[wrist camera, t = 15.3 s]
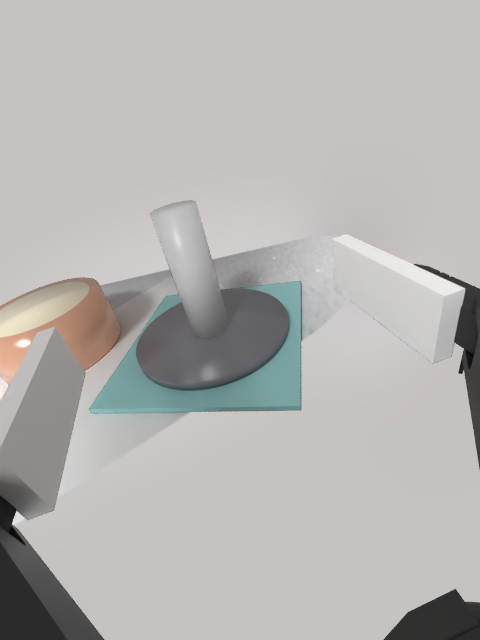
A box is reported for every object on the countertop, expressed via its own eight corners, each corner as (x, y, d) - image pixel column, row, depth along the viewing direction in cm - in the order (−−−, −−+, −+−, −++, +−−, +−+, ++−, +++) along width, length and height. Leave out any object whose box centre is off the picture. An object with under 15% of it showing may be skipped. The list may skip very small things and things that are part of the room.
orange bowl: (-22, 392, 28) (-63, 349, 25) (55, 321, 37) (31, 284, 34) (81, 388, 25) (48, 339, 23) (138, 313, 34) (119, 271, 32)
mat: (91, 413, 23) (88, 409, 23) (167, 299, 36) (165, 296, 35) (301, 410, 19) (300, 406, 19) (300, 284, 32) (300, 280, 32)
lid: (111, 392, 23) (29, 259, 18) (170, 302, 34) (131, 199, 28) (285, 388, 20) (254, 223, 14) (291, 289, 31) (274, 171, 25)
